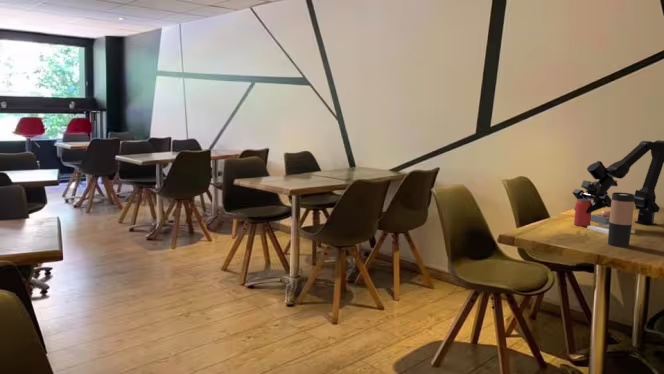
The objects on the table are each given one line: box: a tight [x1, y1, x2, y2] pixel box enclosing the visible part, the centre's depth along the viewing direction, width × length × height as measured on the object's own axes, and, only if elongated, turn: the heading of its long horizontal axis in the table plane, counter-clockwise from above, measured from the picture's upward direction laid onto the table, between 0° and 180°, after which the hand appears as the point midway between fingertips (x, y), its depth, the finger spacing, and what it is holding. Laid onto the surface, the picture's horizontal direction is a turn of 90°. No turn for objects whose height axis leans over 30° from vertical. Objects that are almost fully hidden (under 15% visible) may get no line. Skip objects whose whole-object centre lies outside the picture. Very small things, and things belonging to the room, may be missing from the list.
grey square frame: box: [590, 213, 610, 225], centre depth 239 cm, size 9×9×3 cm
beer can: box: [573, 199, 593, 228], centre depth 230 cm, size 7×7×12 cm
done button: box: [600, 209, 611, 217], centre depth 239 cm, size 4×4×4 cm
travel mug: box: [607, 191, 635, 248], centre depth 195 cm, size 8×8×20 cm
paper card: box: [587, 224, 636, 235], centre depth 221 cm, size 14×12×1 cm
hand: (580, 211), depth 230 cm, fingers closed on beer can, 7 cm apart
